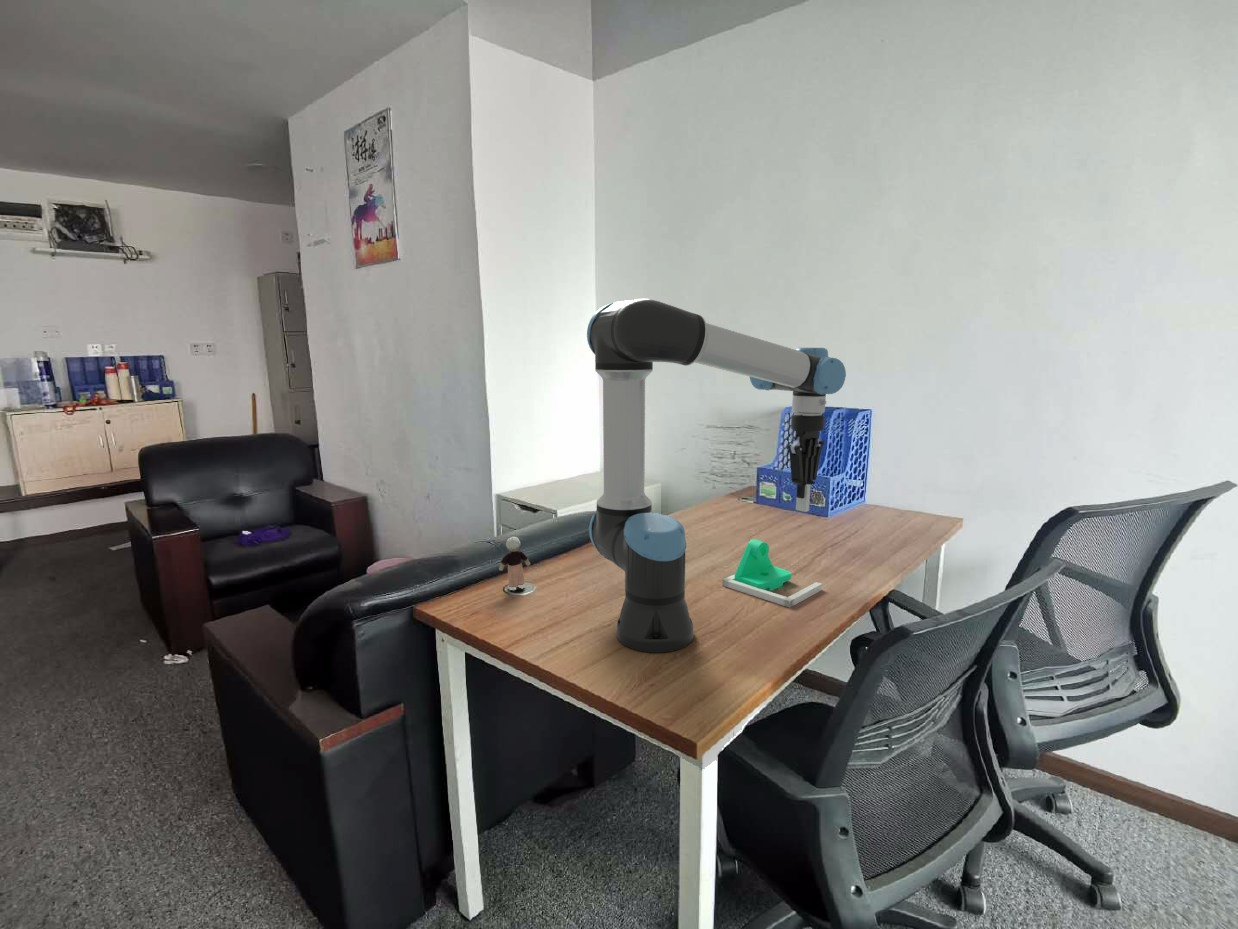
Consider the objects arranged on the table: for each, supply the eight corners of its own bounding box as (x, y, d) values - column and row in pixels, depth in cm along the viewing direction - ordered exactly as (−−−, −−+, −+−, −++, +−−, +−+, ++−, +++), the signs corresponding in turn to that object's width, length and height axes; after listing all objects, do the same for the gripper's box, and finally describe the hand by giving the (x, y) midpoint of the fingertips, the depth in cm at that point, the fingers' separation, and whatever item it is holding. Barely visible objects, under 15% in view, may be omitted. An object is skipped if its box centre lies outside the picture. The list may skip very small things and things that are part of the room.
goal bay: (756, 570, 158) (756, 564, 158) (821, 589, 145) (822, 583, 145) (722, 585, 149) (722, 579, 148) (789, 607, 136) (790, 601, 136)
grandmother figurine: (523, 582, 152) (521, 532, 150) (533, 586, 149) (530, 535, 147) (496, 591, 147) (493, 539, 144) (506, 595, 144) (503, 542, 142)
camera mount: (759, 595, 143) (760, 552, 141) (734, 585, 149) (735, 544, 147) (792, 583, 150) (794, 542, 148) (767, 574, 156) (769, 534, 154)
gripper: (808, 416, 141) (802, 518, 145) (836, 413, 150) (829, 508, 154) (779, 414, 146) (774, 512, 151) (807, 410, 155) (802, 503, 160)
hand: (802, 510), depth 153 cm, fingers closed
